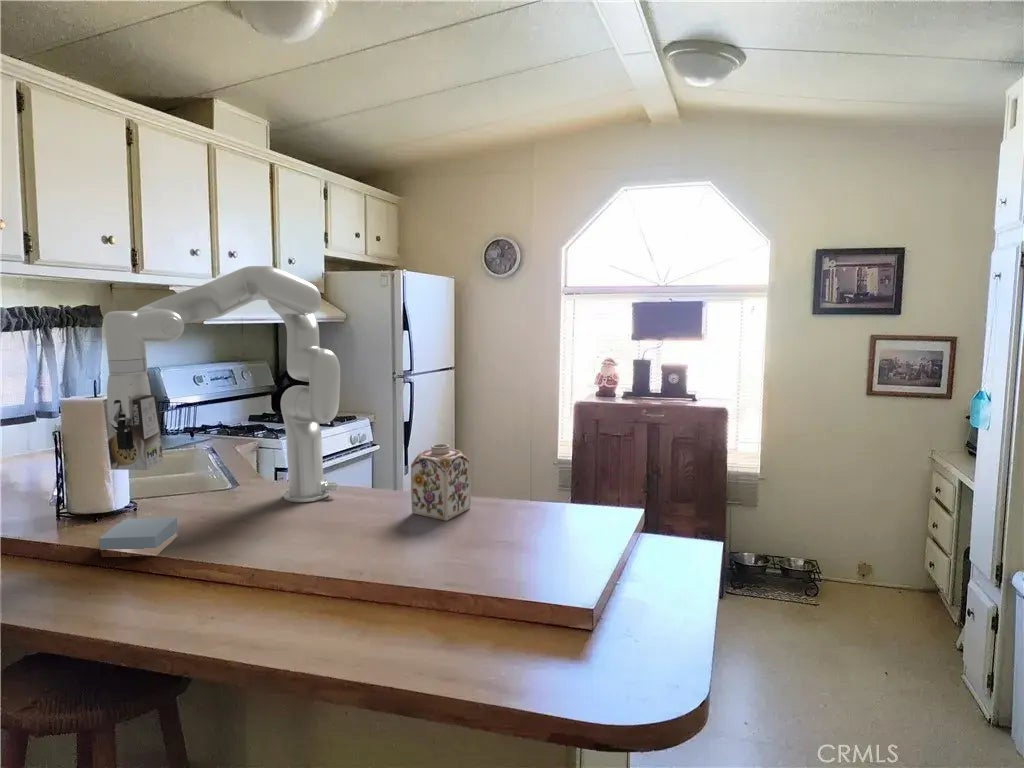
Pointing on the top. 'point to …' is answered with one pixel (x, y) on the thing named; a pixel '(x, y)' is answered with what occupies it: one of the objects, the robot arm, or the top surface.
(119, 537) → the grey block
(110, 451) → the cookie box
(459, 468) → the decorative jar
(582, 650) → the top surface
